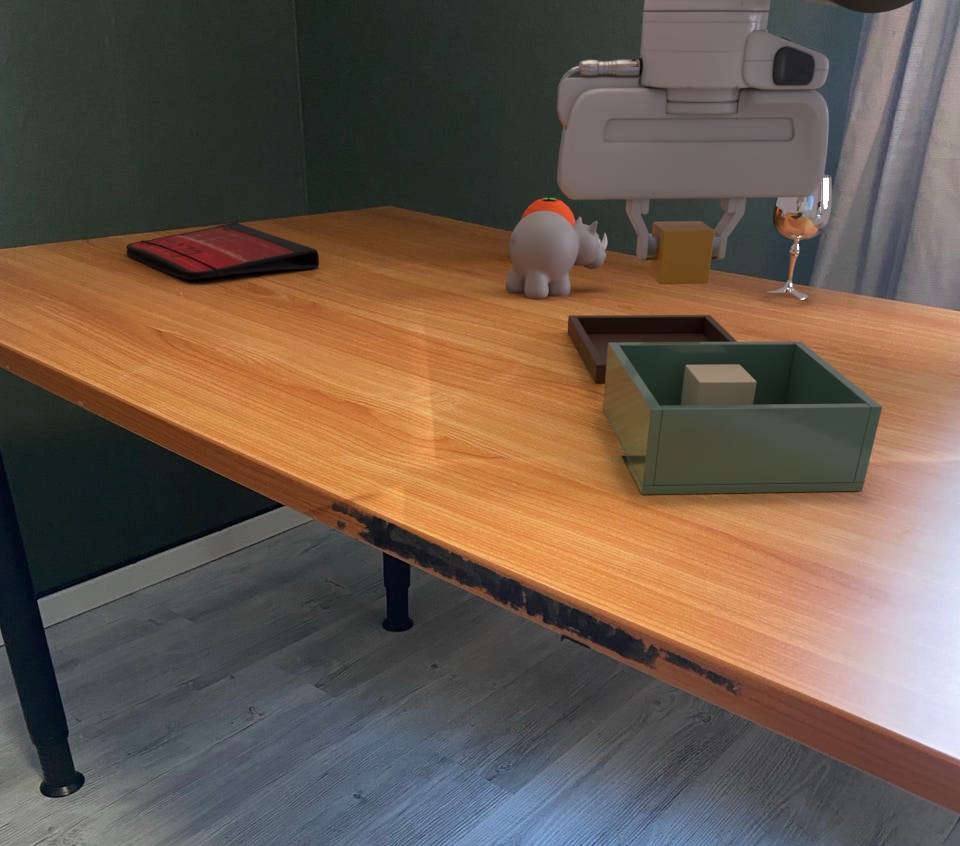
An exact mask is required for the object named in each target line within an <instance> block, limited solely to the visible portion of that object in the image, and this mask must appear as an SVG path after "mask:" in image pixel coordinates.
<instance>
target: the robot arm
mask: <svg viewBox="0 0 960 846" xmlns="http://www.w3.org/2000/svg"><path fill="white" fill-rule="evenodd" d="M802 1H804V2H805V3H809V4H815V5H821V6H822V5H823V6H828V7H829V6H831V7H842V8H844V9H847V10H849V11H853V12H857V13H863V14H881V13H886V12H891V11H894V10H897V9H901V8H903V7H905V6H907V5H909V4H911V3H913V2H915V1H916V0H802ZM771 2H772V0H644V3H643V12H642V25H641V38H640V40H641V41H640V49H639V51H640V52H639V58H638V59H637V58H631V59H626V58H625V59H611V60H598V59H583V60H580V61H579V63H578V65H576V66H574V67H572V68H570V69H568V70H567V71H565V73H564V74H563V76H562V78H561V79H560V81H559V84H558V87H557V100H556V101H557V102H556V103H557V105H556V113H557V117H558V121H559V123H560V124H561V125H562V132H561V139H560V145H559V150H558V160H557V170H556V182H557V186H558V188H559V189H560V191H561V192H562V193H563V194H564V195H565V196H566V197H567V198H568V199H570V200H573V201H593V200H594V201H597V200H598V201H600V200H625V212H626V214H627V217H628V219H629V220H630V222H631V225H632V228H633V229H634V231H635V233H636V235H637V239H636V251H635V253H636V259H637V260H638V261H650V260H657V259H658V253H659V251H658V248H659V242H660V237H659V236H657V235H656V234H655V233H652V232H651V233H650V232H649V230H648V228H647V225H646V224H645V221H644V219H643V216H642V215H648V214H649V211H650V203H651V202H650V200H677V199H678V200H681V199H686V200H687V199H720V204H719V205H720V206H719V208H720V209H721V210H722V211H724V213H723V214H722V217H721V218H720V220H719V222H718V223H717V225H716V227H715V228H714V229H713V230H714V240H713V248H712V256H711V260H724V259H725V258H726V257H725V256H726V251H727V242H728V237H730V235H731V234H732V232H733V231H734V230H735V228H736V227H737V226H738V224H739V222H740V221H741V219H743V216H744V215H745V214H746V213H745V212H746V206H747V199H757V198H758V199H760V198H761V199H762V198H765V199H766V198H770V199H771V198H776V197H809V196H811V195H812V194H813V193H814V192H815V190H816V189H817V188H818V187H819V186H820V184H821V183H822V180H823V176H824V174H825V170H826V164H827V156H828V146H829V132H830V131H829V130H830V129H829V128H830V114H829V113H830V112H829V108H828V104H827V101H826V99H825V98H824V96H823V95H822V94H821V93H820V92H818V91H817V90H816V89H819V88H821V87H823V86H824V85H825V83H826V81H827V78H828V75H829V70H830V60H829V58H828V57H827V56H826V55H825V54H823V53H821V52H819V51H816V50H814V49H810V48H808V47H805V46H803V45H801V44H797V43H796V42H792V41H791V39H789V38H787V37H783V36H778V35H775V34H772V33H771V32H769V29H768V24H769V23H768V21H769V14H770V12H769V11H770V9H771ZM577 73H578V77H572V76H573V75H574V74H577Z"/></svg>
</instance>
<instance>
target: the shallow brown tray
mask: <svg viewBox="0 0 960 846" xmlns="http://www.w3.org/2000/svg"><path fill="white" fill-rule="evenodd" d="M567 334H568V336H569V338H570V340H571V341H572V342H571V343H572V344H573V345H574V347H575V349H576V351H577V353H578V355H579V357H580V358H581V360H582V362H583V364H584V366H585V368H586V370H587V371H588V373H589V375H590V377H591V379H592V381H593V383H594V384H595V385H605V375H606V363H607V351H608V343H609V342H617V343H619V342H739V341H738V340H737V339H736V338H735V337H734V336H732V335H731V334H730V332H729V331H727V330H726V329H725V328H724V326H722V325H721V324H720V323H719V322H718V321H717V320H716V319H715V318H714V317H713V316H712V315H711V314H626V315H625V314H621V315H620V314H613V315H611V314H608V315H607V314H605V315H604V314H601V315H600V314H599V315H593V314H592V315H588V314H587V315H586V314H585V315H580V314H579V315H574V314H573V315H568V317H567Z"/></svg>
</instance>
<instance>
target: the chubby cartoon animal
mask: <svg viewBox="0 0 960 846" xmlns="http://www.w3.org/2000/svg"><path fill="white" fill-rule="evenodd" d="M575 221H576V223H575V225H574V226H572V225H571V224H570V223H569V222H568V221H567V220H566V219H565V218H564V217H563V216H561V215H559V214H557V213H555V212H551V211H537V212H534V213H531V214H529V215H527V216H526V217H524V218H523V219H522V220H521V219H520V221H519V222H518V223H517V224H516V225H515V227H514V229H513V231H512V233H511V236H510V239H509V243H508V245H509V246H508V249H509V250H508V251H509V253H508V254H509V258H510V262H511V268H510V270H509V272H507V273H508V274H507V275H506V276H507V277H506V280H505V286H504V287H505V291H506V292H507V293H509V294H524V297H525V298H527V299H531V300H542V299H545V298H547V297H548V296H555V297H564V296H569V295H570V294H571V280H570V275H569V273H570V272H571V270H572V269H573V267H574V266H578V267H579V266H581V267H582V266H583V267H585V268H586V269H588V270H596V269H599V268H600V267H602V265H603V264H604V262H605V260H606V258H607V253H606V249H607V246H608V237H607V234H606V232H604V234H603V238H602V239H601V238H600V236H599V235H600V234H598V232H597V228H598V223H599V222H598V220H595V221H593V222H592V223H591V224H590V225H588V224H585V223H583V218H582V217H581V216H578V217H577V219H575Z"/></svg>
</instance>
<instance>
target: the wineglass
mask: <svg viewBox="0 0 960 846" xmlns="http://www.w3.org/2000/svg"><path fill="white" fill-rule="evenodd" d="M832 201H833V184H832V176H831V175H829V174H825V173H824V176H823V180H822V183H821V184H820V186H819V187H818V188H817V189H816V190H815V192H814V193H813V194H812V195H811V196H809V197H775V200H774V205H773V211H772V223H773V227H774V229H775V231H776V232H777V233H778V234H779V235H780V236H782V237H783V238H785V239H787V240H789V241H791V242H792V243H793V244H792V245H791V247H790V250H789V269H788V274H787V279H786V283H785V284H784V285H783V286H782V287H781V288H777V289H771V290H768V291H766V294H768V293H769V294H777V293H778V294H781V293H785V294H786V293H787V294H792V295H793V296H795V297H797V298H798V299H799V300H801V301H803V300H807V299H808V298H809V295H808V294H807V293H805V292H803V291H799V290H797V289H795V287H794V285H793V277H794V271H795V266H796V263H797V259H798V257H799V256H800V251H801V247H800V243H801V242H805V241H808V240H811V239H813V238H815V237H817V236H819V235H820V234H821V233H822V232H823V231H824V229H825V228H826V227H827V224H828V222H829V220H830V216H831V212H832Z"/></svg>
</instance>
